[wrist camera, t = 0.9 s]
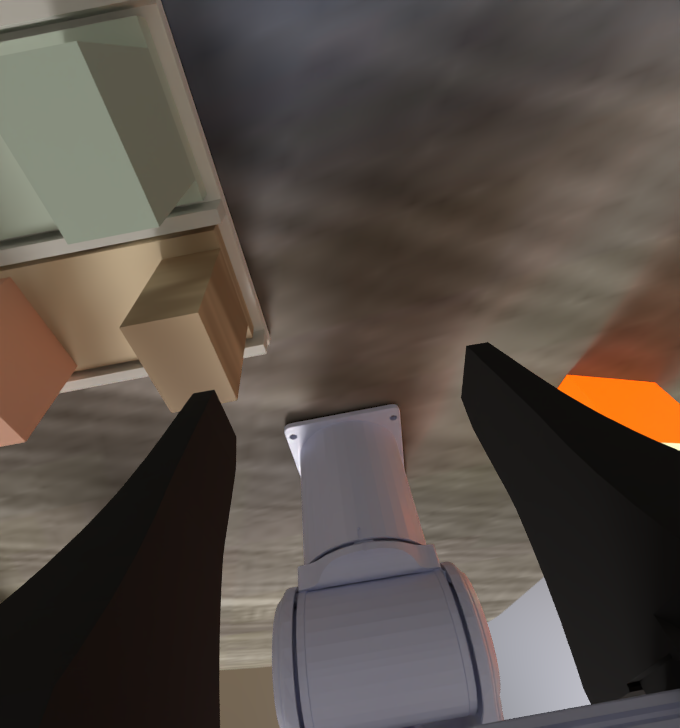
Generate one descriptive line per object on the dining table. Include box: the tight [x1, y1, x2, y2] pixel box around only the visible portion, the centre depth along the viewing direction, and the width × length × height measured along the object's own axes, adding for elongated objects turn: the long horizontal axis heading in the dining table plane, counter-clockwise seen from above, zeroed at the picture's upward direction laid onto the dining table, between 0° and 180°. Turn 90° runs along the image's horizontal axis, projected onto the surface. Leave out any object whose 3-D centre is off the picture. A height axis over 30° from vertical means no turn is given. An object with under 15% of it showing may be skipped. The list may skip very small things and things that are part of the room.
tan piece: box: [0, 224, 254, 413], centre depth 16 cm, size 14×6×6 cm, turn 99°
